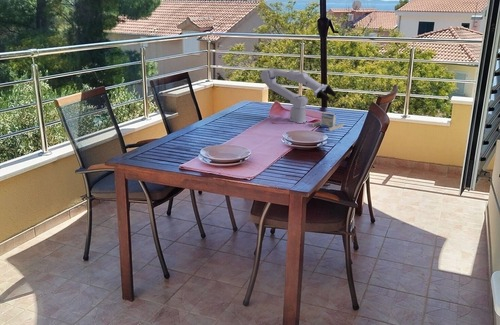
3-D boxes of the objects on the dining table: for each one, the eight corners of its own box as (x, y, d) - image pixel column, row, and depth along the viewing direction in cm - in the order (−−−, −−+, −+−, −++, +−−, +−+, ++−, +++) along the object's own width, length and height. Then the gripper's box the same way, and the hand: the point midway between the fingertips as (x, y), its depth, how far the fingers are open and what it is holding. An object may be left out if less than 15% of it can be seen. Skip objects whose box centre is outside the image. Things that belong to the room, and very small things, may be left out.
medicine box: (320, 126, 302) (321, 113, 299) (323, 125, 306) (323, 111, 303) (332, 128, 299) (333, 114, 296) (335, 126, 302) (336, 113, 299)
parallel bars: (312, 126, 302) (312, 123, 301) (326, 122, 311) (326, 119, 310) (329, 131, 293) (330, 127, 293) (343, 126, 303) (343, 123, 302)
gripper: (310, 83, 293) (328, 95, 288) (322, 76, 302) (340, 88, 298) (306, 93, 297) (324, 105, 293) (318, 86, 307) (336, 97, 302)
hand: (332, 97), depth 295 cm, fingers open, 7 cm apart
